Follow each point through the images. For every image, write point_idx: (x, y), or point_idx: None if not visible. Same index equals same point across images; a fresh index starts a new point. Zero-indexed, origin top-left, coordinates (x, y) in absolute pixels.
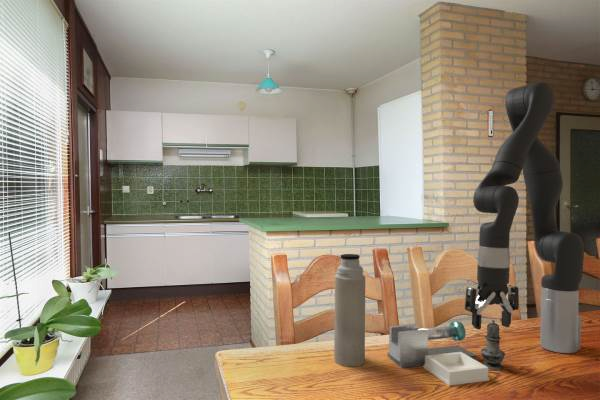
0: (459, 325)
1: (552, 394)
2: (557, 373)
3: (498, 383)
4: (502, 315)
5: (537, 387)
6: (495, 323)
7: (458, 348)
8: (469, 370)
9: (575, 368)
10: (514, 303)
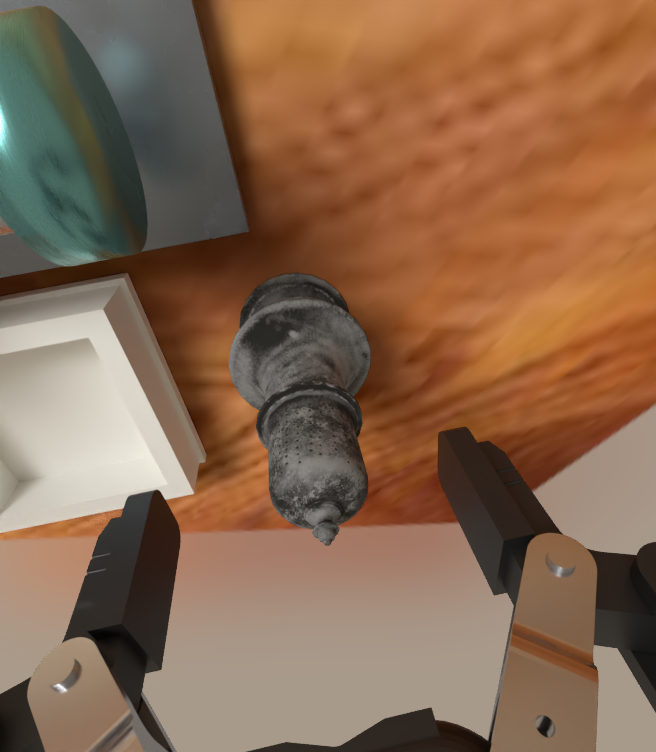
0: (47, 241)
1: (369, 526)
2: (524, 402)
3: (231, 473)
4: (478, 506)
5: None
6: (345, 508)
7: (156, 60)
8: (94, 512)
9: (642, 363)
10: (651, 696)
